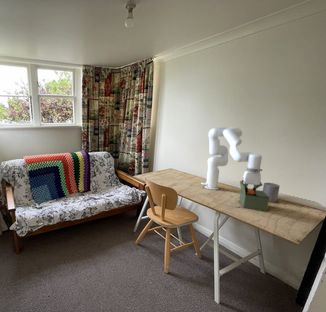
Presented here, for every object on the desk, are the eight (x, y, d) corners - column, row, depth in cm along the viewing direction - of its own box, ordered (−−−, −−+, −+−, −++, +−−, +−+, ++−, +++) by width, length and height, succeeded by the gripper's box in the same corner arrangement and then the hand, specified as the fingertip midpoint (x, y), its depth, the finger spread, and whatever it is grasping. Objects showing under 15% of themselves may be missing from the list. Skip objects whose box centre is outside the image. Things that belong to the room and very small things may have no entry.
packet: (254, 194, 145) (254, 191, 145) (247, 193, 147) (248, 190, 147) (251, 191, 151) (252, 188, 150) (245, 191, 152) (245, 188, 152)
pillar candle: (259, 196, 166) (262, 180, 163) (274, 198, 161) (277, 182, 158) (263, 201, 158) (266, 184, 155) (278, 203, 153) (282, 185, 150)
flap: (245, 194, 145) (245, 194, 145) (241, 188, 156) (240, 188, 156) (244, 185, 144) (244, 185, 144) (240, 180, 155) (239, 180, 156)
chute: (243, 207, 147) (245, 194, 145) (239, 201, 158) (241, 188, 156) (266, 211, 141) (269, 197, 139) (260, 204, 152) (262, 190, 150)
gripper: (265, 169, 145) (261, 192, 148) (238, 167, 152) (235, 189, 156) (269, 172, 138) (265, 195, 142) (240, 170, 145) (237, 192, 149)
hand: (249, 192), depth 149 cm, fingers closed on packet, 4 cm apart
